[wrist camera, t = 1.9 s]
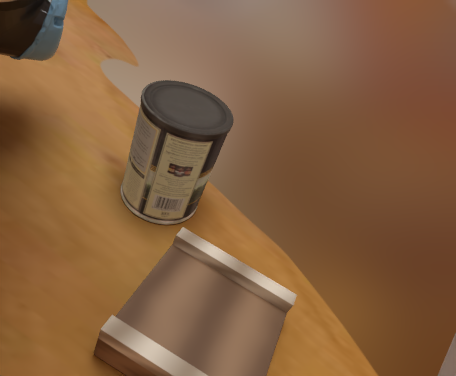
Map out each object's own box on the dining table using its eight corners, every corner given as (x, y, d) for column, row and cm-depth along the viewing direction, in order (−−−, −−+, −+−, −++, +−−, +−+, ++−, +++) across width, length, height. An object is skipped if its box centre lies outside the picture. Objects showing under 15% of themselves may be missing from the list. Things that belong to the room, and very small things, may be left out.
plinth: (93, 354, 33) (100, 329, 30) (172, 252, 44) (182, 227, 41) (233, 445, 31) (254, 427, 29) (278, 316, 42) (296, 294, 40)
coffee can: (174, 164, 56) (203, 79, 47) (211, 215, 50) (251, 130, 42) (106, 175, 49) (125, 78, 40) (140, 234, 44) (171, 138, 35)
